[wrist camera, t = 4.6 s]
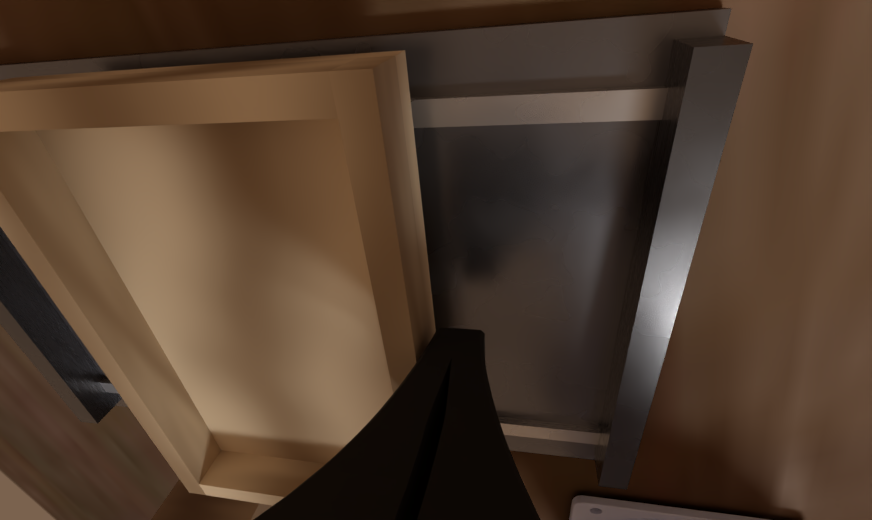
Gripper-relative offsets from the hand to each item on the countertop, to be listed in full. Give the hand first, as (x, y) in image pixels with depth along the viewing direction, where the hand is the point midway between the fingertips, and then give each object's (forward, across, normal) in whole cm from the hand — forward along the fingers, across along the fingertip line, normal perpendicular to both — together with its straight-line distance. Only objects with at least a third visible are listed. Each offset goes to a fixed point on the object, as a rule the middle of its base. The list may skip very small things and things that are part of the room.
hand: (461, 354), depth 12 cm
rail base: (+3, +7, 0) cm, 7 cm away
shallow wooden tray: (+2, +6, 0) cm, 7 cm away
